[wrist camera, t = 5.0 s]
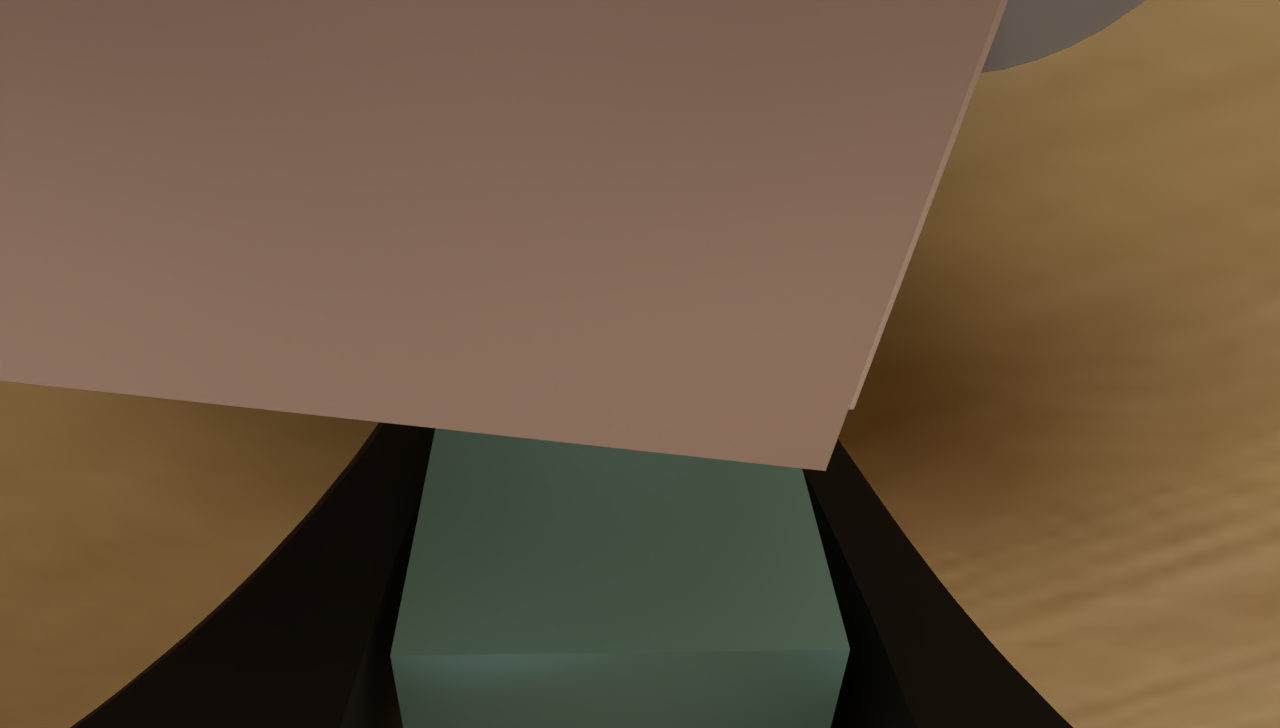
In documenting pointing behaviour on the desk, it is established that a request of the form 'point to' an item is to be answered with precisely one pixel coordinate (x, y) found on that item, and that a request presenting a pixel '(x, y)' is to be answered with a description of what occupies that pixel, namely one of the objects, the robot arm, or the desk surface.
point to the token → (1048, 28)
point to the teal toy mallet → (614, 592)
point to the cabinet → (478, 207)
